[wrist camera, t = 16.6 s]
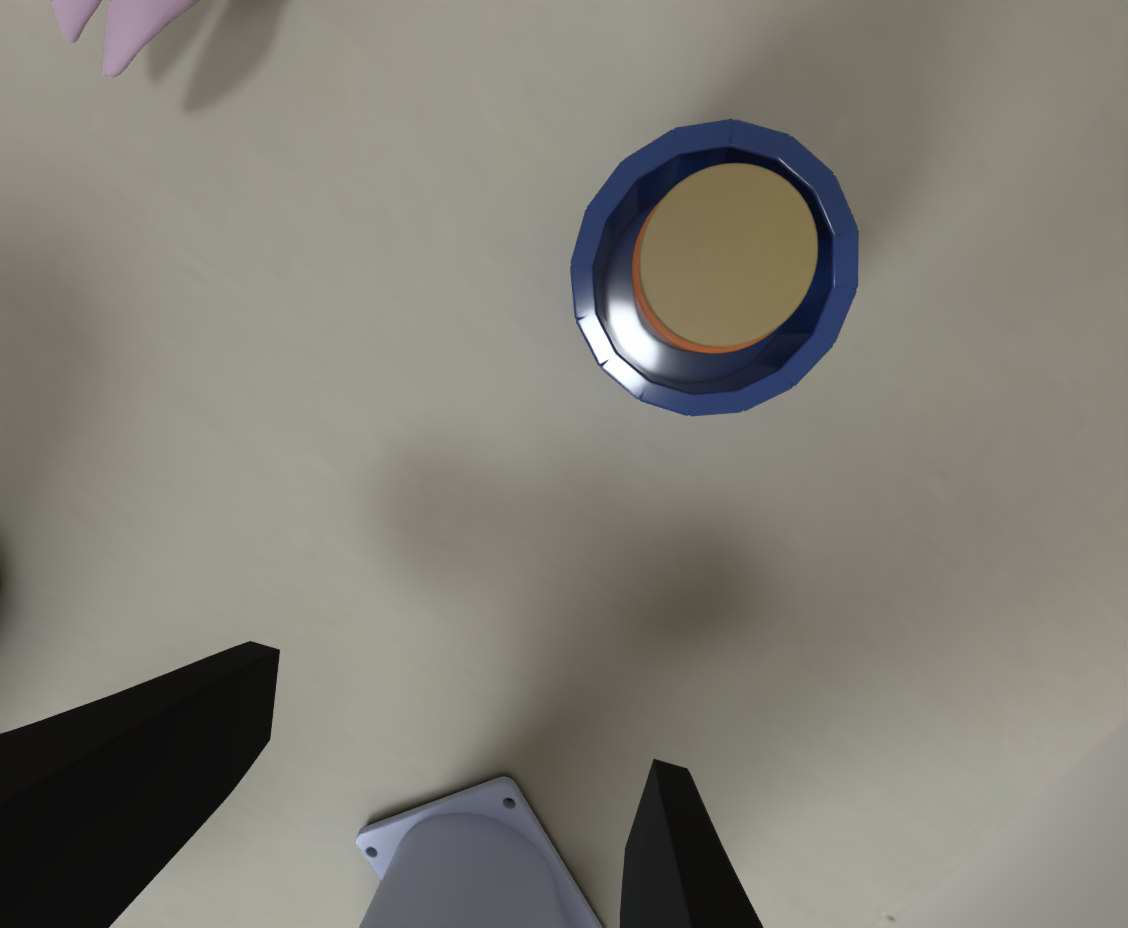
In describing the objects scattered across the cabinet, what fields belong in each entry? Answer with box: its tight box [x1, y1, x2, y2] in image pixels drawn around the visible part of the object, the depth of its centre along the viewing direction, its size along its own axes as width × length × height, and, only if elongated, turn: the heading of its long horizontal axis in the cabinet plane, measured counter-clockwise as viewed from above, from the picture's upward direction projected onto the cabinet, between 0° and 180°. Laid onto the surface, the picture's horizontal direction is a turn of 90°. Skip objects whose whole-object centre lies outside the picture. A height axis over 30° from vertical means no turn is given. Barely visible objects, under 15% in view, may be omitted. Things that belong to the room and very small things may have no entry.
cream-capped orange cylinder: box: [632, 163, 818, 354], centre depth 14 cm, size 4×4×6 cm
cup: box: [570, 119, 858, 416], centre depth 15 cm, size 7×7×4 cm
